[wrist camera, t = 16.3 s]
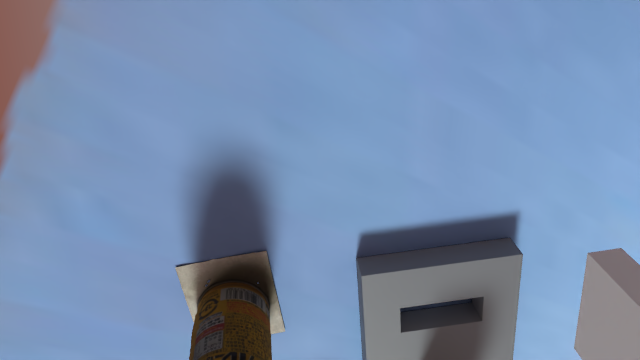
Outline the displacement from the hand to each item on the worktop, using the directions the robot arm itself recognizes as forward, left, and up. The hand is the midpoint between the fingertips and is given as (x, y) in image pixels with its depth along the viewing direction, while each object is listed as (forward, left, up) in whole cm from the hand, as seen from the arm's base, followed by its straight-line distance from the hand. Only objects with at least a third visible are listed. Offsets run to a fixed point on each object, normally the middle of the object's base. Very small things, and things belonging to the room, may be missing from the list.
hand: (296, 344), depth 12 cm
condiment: (+5, +21, -29) cm, 36 cm away
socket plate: (-12, +28, -29) cm, 41 cm away
